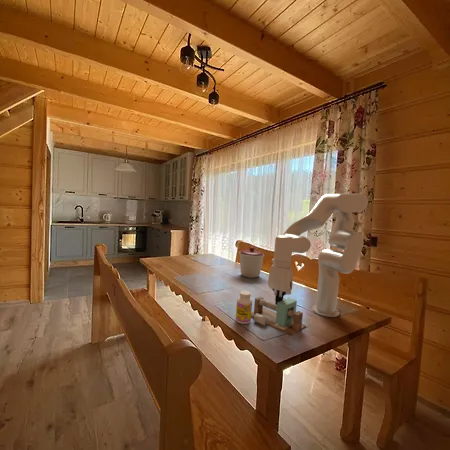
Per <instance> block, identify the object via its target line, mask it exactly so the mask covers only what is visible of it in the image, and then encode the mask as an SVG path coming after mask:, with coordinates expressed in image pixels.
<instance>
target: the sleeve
mask: <svg viewBox="0 0 450 450" xmlns="http://www.w3.org/2000/svg"><path fill="white" fill-rule="evenodd" d="M253 322H254V323H257V324H259V325H261V326H265V327H266V325H267V322H268V318H267V317H265V316H262V315H260V314H258V313H256V314H255V315H254V318H253Z"/></svg>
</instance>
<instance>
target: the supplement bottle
mask: <svg viewBox="0 0 450 450" xmlns="http://www.w3.org/2000/svg"><path fill="white" fill-rule="evenodd" d="M251 296H252V295H251V292H250V291H246V290H242V291H240V292H239V297H238V298H237V299H236V308H235V309H236V310H235V321H236V322H237V323H239V324H242V325H247V324H249V323H251V320H252V317H251V313H252V312H253V311H252V310H253V300H252V298H251Z"/></svg>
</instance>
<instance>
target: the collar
mask: <svg viewBox="0 0 450 450" xmlns="http://www.w3.org/2000/svg"><path fill="white" fill-rule="evenodd" d="M297 304H298V303H297V300H296V299H293V298H290V297H288V298H286V299H285V298H284V299H283V301H280V302H278V303H277V311H276V313H277V314H276V323H277V324H279V325H282V326H286V325H287V324H289V323H291V322H293V318H292V317H288V316H287V313H288V309H291V310H293V311H295V312H297Z"/></svg>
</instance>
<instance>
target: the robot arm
mask: <svg viewBox="0 0 450 450" xmlns="http://www.w3.org/2000/svg"><path fill="white" fill-rule="evenodd" d="M368 204H369V200H368V197H367V196H366V195H365V194H363V193H325V194H323V195H322V196H321V197H320V198H319V199H318V201H317V202H316V203H315V204H314V206H312V208H311V210H310V211H309V212H308V213H307V215H304V216H303V217H301V218H299V219H298V220H296V221H294V222H293V223H292V224H291V225H290V226H289V227H288V228H287V229H286V230H285V232H284V233H283V234H282V235H277V236H276V237H275V239H274V241H275V242H274V250H273V251H274V252H273V258H272V259H271V262H272V263H273V264H272V265H271V266H270V269H269V274H268V279H267V281H268V282H267V286H268V288H269V289H270V290H272V291H273V293H274V296H275V299H274V301H275V302H274V304H276V305H277V303H278V302H280V301H283V300H284V296H286V295H288V296H289V295H291V294H292V289H293V284H294V283H293V280H294V279H293V278H294V277H293V276H294V275H293V268H292V267H291V265H292V258H293V257H292V254H293V253H295V254H305V253H307V252H308V251H309V250H310V248H311V247H312V246H311V245H312V244H311V241H310V239H308V238H307V237H306V236H303V234H304V233H305V232H308V231H312V230H316V229H320V228H322V227H323V226H324V225H325V224H326V222H327V221H328V220H329V218H330V217H331V216H332V214H333V213H335V221H334V225H333V227H332V229H331V231H330V235H329V238H328V243H329V246H330V247H333V248H334V249H331V248H325V249H323V250H321V251H320V252H319V254H318V258H317V261H318V280H317V289H316V302H315V305H313V306H312V311H313V312H314V313H315V314H317V315H320V316H323V317H328V318H337V317H339V316H340V311H339V310H338V309H337V305H338V304H339V303H338V295H339V284H340V275H339V273H341V274H347V275H348V274H351V273H352V272H354V270H355V269H356V266H357V263H358V261H359V258H360V256H361V253H362V250H363V247H364V238H363V237H364V236H363V235H362V234H361V233H360V232H357V231H353V229H354V226H355V219H354V217H353V214H352V213H360V212H364V211H365V210H366V209H367V207H368ZM335 248H336V249H338V250H336V249H335ZM340 250H344V251H340Z"/></svg>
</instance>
